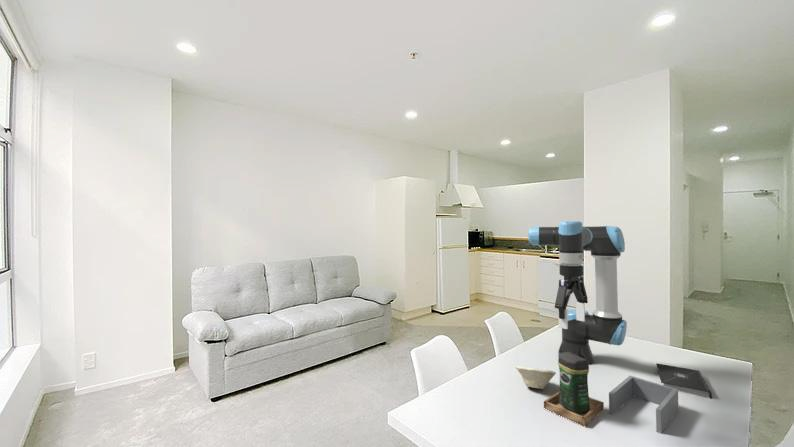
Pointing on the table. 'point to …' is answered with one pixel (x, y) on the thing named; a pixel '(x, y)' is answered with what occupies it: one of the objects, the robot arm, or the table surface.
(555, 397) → the tray
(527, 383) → the bowl
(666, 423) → the bay
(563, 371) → the coffee jar
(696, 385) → the book
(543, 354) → the table surface
